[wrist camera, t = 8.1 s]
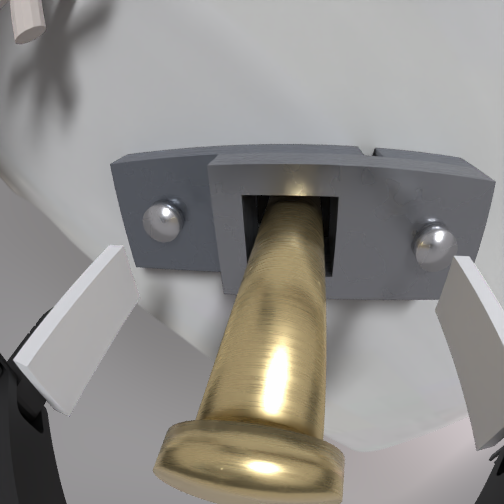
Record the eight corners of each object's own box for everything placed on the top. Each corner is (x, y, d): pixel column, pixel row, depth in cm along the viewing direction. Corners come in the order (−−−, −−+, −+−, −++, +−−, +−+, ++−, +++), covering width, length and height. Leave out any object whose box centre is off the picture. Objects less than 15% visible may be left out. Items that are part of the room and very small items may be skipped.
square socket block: (127, 154, 17) (80, 181, 13) (461, 158, 14) (503, 187, 10) (148, 251, 21) (116, 293, 17) (439, 260, 18) (465, 308, 14)
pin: (258, 170, 17) (122, 445, 4) (331, 171, 16) (364, 480, 3) (262, 234, 19) (180, 496, 6) (328, 236, 18) (326, 515, 6)
